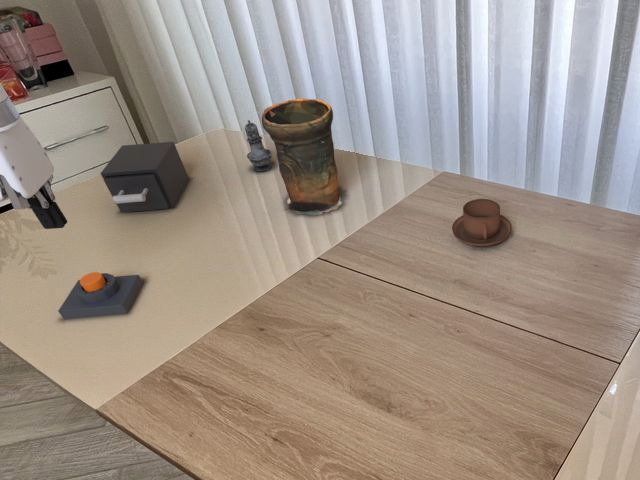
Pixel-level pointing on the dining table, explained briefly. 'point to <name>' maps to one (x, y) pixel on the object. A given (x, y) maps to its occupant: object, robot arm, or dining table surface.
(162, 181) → the small drawer cabinet
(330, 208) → the vessel
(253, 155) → the grey chess piece
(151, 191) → the dark grey drawer
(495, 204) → the cup and saucer
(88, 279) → the button
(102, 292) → the control block
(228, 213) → the dining table surface
